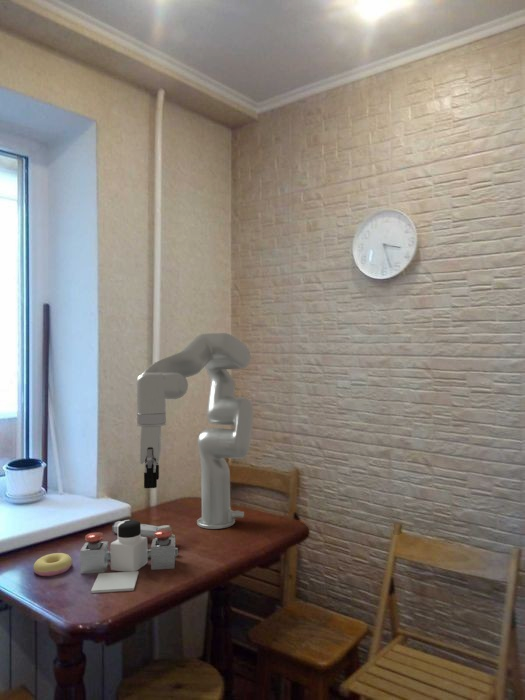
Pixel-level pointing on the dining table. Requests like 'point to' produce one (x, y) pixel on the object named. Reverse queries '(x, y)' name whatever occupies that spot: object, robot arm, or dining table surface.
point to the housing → (99, 557)
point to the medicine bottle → (128, 547)
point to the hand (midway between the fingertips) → (151, 483)
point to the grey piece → (145, 529)
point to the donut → (52, 564)
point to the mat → (115, 582)
